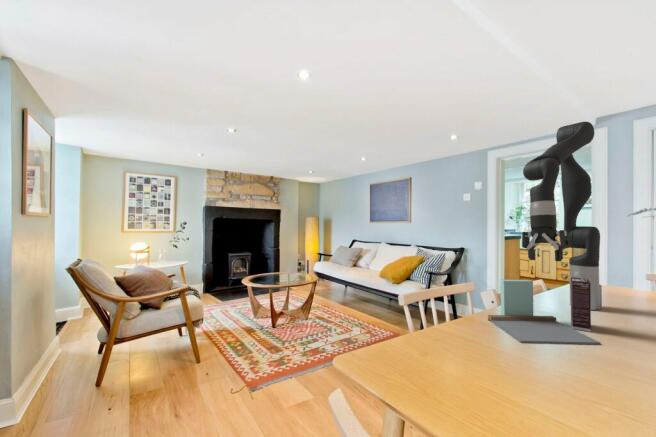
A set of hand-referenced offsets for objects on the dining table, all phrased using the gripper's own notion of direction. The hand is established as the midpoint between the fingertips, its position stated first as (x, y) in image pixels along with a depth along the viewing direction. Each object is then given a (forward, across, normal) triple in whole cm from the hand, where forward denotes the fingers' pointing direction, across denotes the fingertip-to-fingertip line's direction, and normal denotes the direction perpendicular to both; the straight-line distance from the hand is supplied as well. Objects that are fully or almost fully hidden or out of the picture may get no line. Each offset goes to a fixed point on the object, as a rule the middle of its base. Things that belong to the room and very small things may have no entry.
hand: (544, 260), depth 102 cm
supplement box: (+22, -6, -8) cm, 24 cm away
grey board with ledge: (+22, -2, +9) cm, 24 cm away
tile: (+22, +8, +4) cm, 23 cm away
